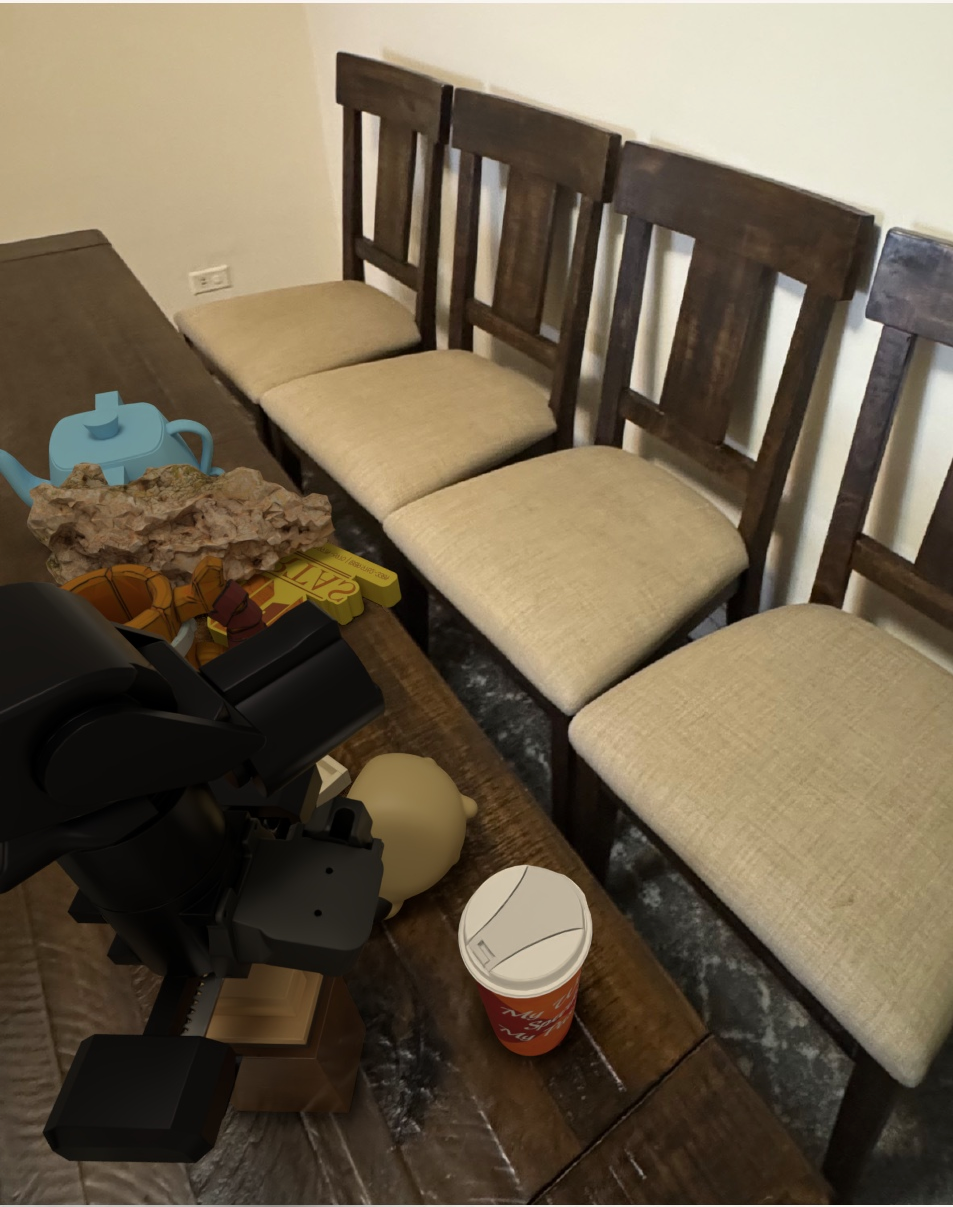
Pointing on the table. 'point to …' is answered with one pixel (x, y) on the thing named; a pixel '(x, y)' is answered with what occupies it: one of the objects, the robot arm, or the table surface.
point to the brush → (268, 1008)
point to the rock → (174, 522)
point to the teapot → (113, 445)
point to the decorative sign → (317, 586)
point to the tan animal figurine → (412, 824)
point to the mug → (173, 605)
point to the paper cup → (527, 954)
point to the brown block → (307, 1063)
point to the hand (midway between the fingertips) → (253, 994)
